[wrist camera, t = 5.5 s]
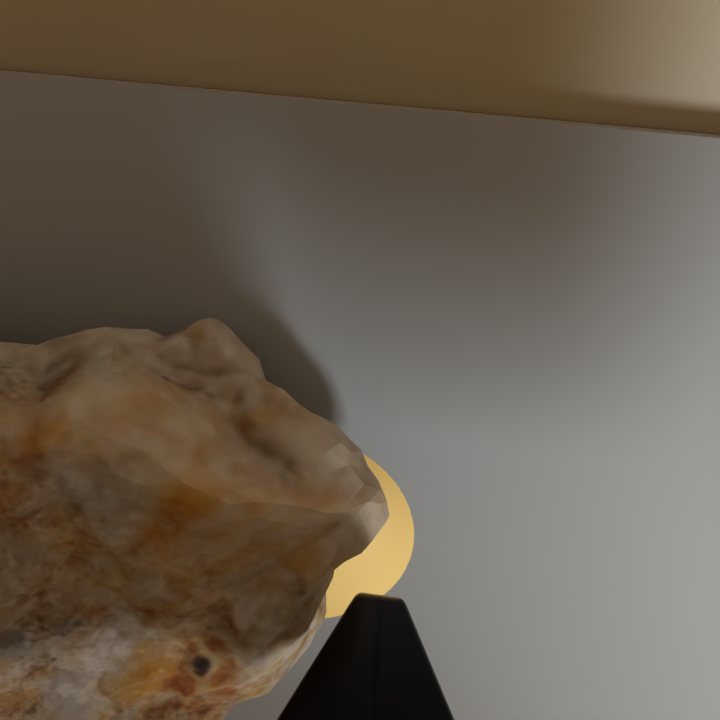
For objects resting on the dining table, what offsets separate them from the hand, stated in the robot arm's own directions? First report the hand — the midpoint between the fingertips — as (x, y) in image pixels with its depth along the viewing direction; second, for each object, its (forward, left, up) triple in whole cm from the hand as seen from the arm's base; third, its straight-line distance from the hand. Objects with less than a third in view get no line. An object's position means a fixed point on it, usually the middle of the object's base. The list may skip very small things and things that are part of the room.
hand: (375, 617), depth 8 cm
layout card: (+1, 0, -2) cm, 2 cm away
